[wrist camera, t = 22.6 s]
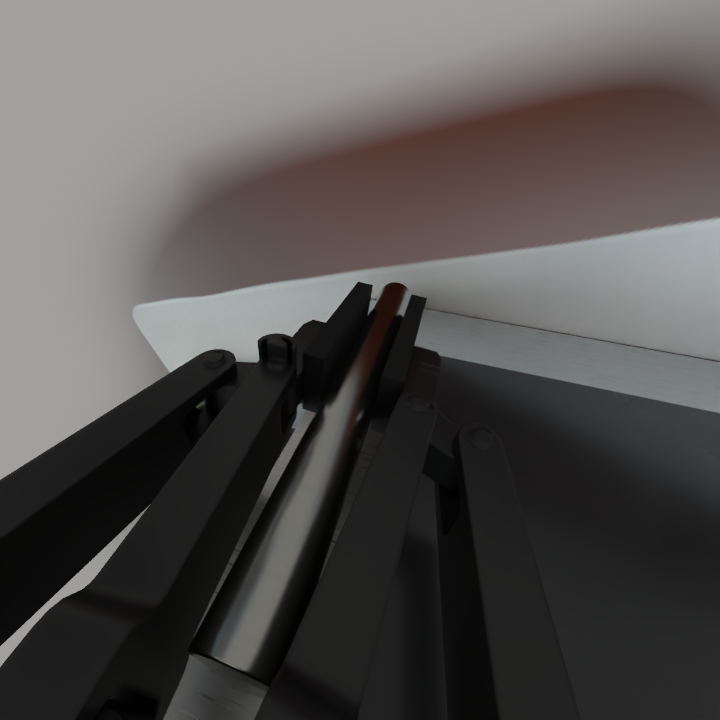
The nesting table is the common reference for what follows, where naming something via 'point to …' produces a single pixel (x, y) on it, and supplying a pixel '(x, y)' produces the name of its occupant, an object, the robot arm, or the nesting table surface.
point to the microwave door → (540, 511)
